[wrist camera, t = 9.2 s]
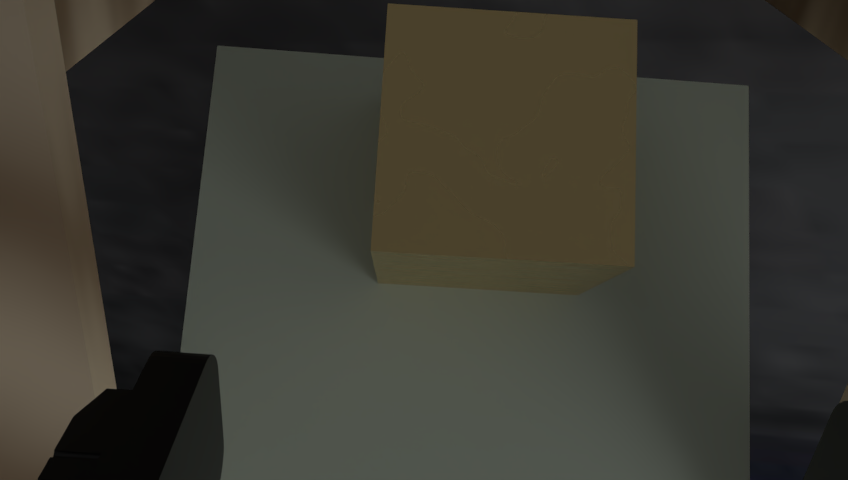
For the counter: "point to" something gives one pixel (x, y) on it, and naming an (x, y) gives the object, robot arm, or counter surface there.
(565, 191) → the block
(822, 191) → the counter surface
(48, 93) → the trapdoor frame
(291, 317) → the trapdoor
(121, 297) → the counter surface
